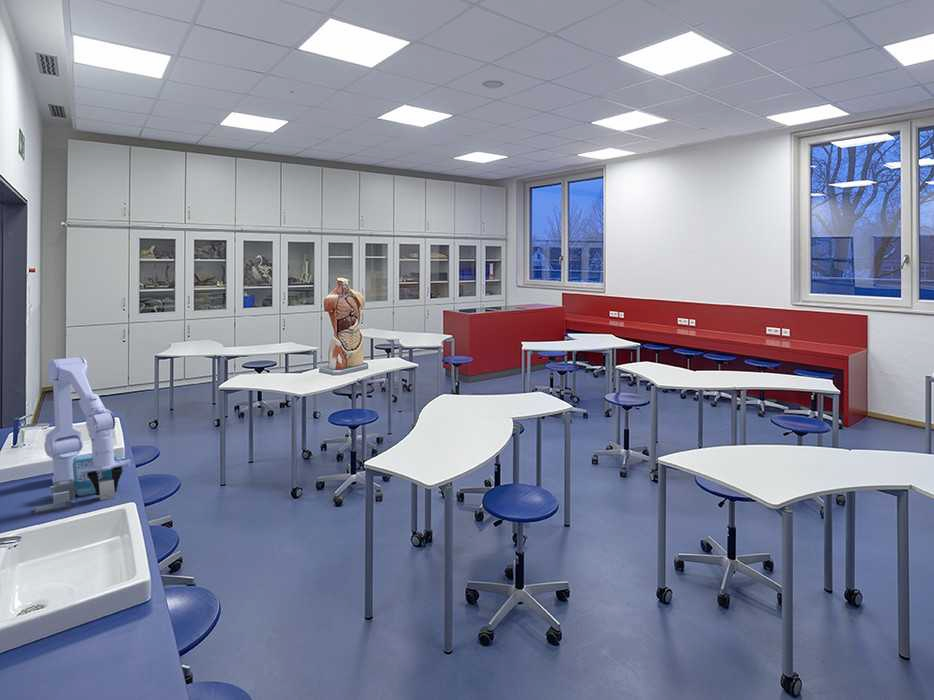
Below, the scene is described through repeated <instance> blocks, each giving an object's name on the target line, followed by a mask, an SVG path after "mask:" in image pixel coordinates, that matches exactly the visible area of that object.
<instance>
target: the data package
mask: <svg viewBox="0 0 934 700" xmlns="http://www.w3.org/2000/svg"><path fill="white" fill-rule="evenodd" d="M114 461H118V460H117V454H116V453H115V452H114ZM89 465H93V455H92V453H90V454H83V455H78V456H77V457H75V458H74V459H73V464H72V466H73V477H74V485H75V496H80V497H81V496H88V494H89V495H93V494H94V493H95V494H96V491H95V488H94V485H93V483H92V481H91V480H90V479H89V477H88V475H87V474H83V475H81V476H77V470H76V469H77V468H81V467H85V466H89ZM97 475H98V479H100V478H105V477H110V476H112V470H105V471H99V472H97ZM118 487H119V484H118V485H117V489H118Z"/></svg>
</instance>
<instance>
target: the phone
mask: <svg viewBox="0 0 934 700" xmlns="http://www.w3.org/2000/svg"><path fill="white" fill-rule="evenodd" d="M67 508H68V509H72V508H73V507H72V503H71V500H70V501H65V502H60V503H55V504H54V503H51V504H45V505H41V506H34V507H33V509H34V515H35V516H37V515H43V514H46V513H52V512H56V511H61V510H68V509H67Z"/></svg>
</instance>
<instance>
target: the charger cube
mask: <svg viewBox="0 0 934 700" xmlns="http://www.w3.org/2000/svg"><path fill="white" fill-rule="evenodd" d="M53 486H54V487H55V493H60V492H65V491H69V496H70V500H73V498H74V499H76V494H75V485H74V481H73V479H69V480H64V481H58V482H54V484H53Z"/></svg>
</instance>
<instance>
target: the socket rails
mask: <svg viewBox="0 0 934 700" xmlns="http://www.w3.org/2000/svg"><path fill="white" fill-rule="evenodd" d="M49 488H50V495H51V496H50V497H52V500H53V504H55V503H60V502H65V501H71V499H70V496H69V491H65V492H60V493H55V487H54V485H51V486H50V487H49Z"/></svg>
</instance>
